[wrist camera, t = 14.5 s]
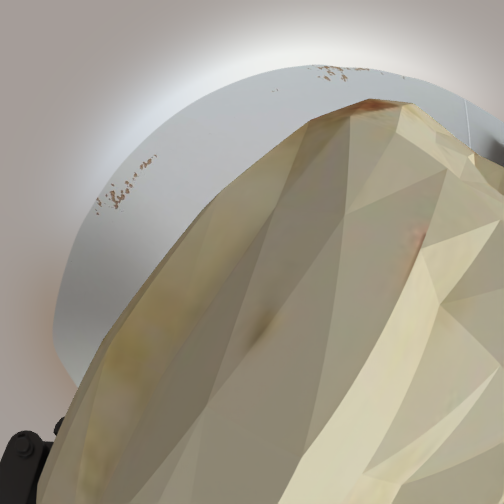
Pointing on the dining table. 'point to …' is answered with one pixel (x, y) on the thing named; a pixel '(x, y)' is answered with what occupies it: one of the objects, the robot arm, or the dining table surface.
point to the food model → (311, 335)
